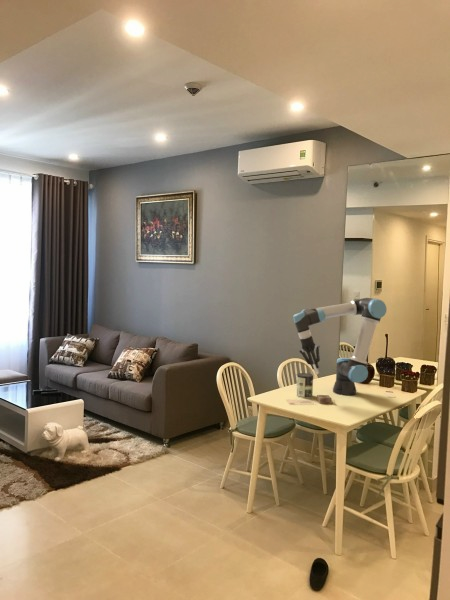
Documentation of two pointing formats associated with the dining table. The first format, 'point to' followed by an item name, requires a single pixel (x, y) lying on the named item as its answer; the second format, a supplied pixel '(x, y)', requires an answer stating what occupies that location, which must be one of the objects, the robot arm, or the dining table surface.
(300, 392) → the coffee can
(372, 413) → the dining table surface
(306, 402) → the letter
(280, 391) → the dining table surface
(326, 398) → the walnut block
